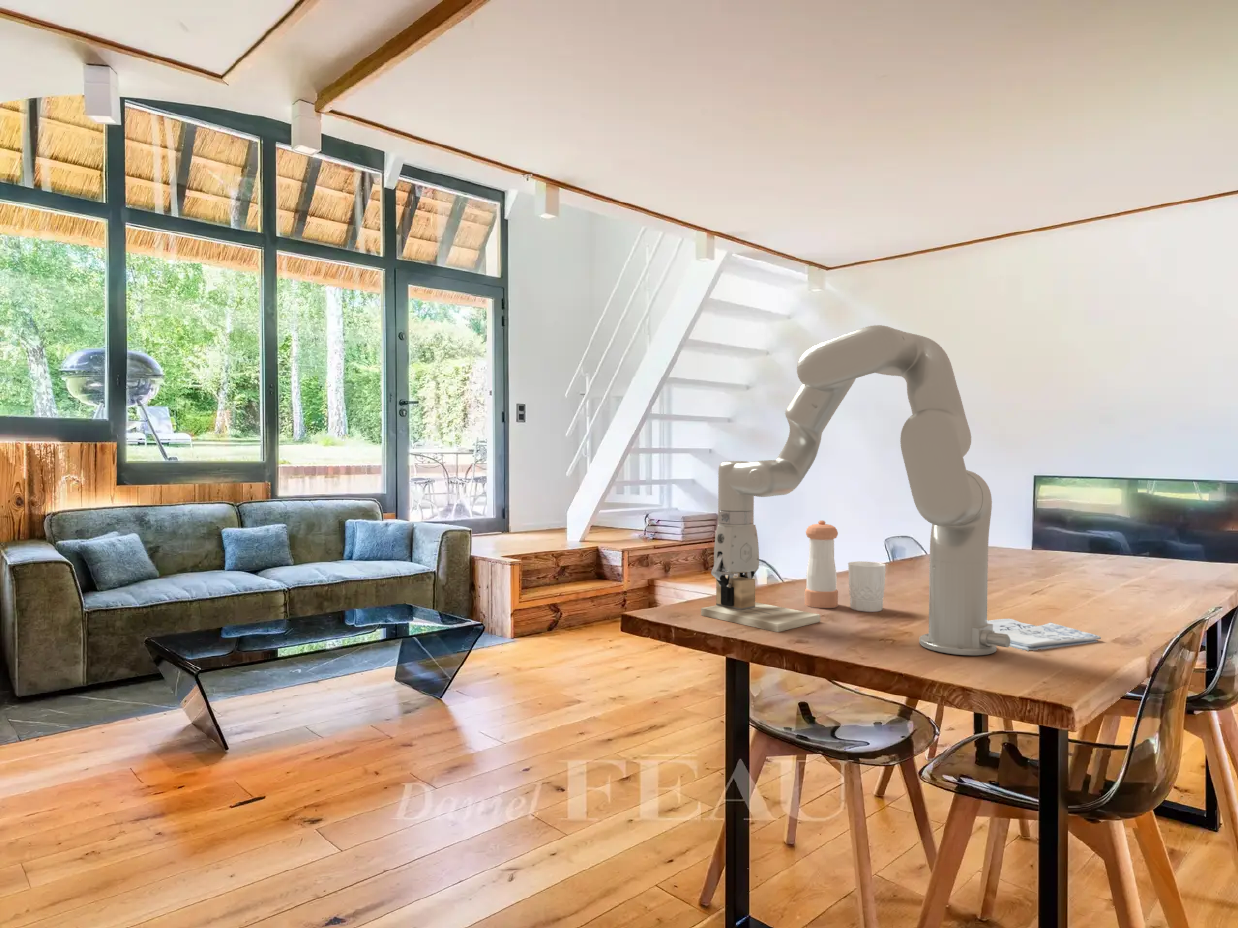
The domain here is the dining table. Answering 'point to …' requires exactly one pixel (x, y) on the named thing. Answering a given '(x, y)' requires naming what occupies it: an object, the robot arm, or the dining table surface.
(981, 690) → the dining table surface
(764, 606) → the board
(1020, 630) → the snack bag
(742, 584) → the block
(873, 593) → the white cup
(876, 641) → the dining table surface
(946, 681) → the dining table surface
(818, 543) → the pepper shaker
